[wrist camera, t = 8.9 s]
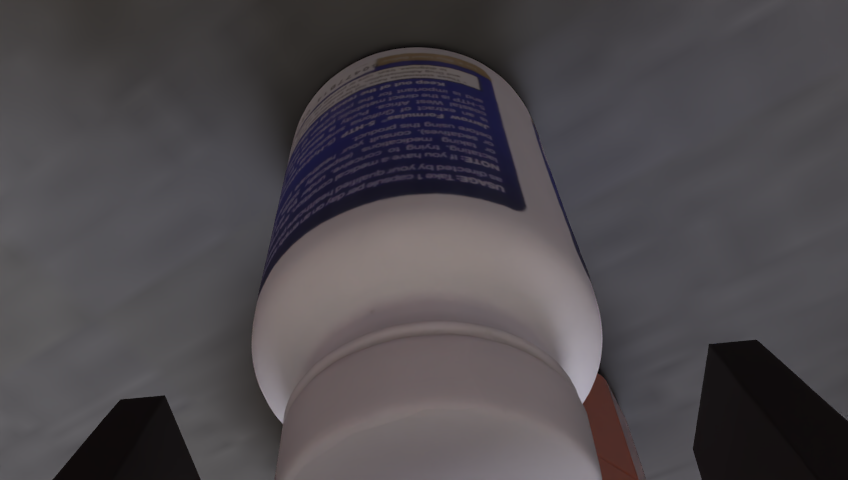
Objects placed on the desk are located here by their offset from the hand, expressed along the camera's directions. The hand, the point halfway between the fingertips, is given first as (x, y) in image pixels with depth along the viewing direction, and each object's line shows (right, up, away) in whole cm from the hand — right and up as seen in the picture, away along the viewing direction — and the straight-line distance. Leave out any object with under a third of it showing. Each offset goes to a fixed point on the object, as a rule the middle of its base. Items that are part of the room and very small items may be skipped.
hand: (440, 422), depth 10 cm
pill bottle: (0, +4, +6) cm, 8 cm away
